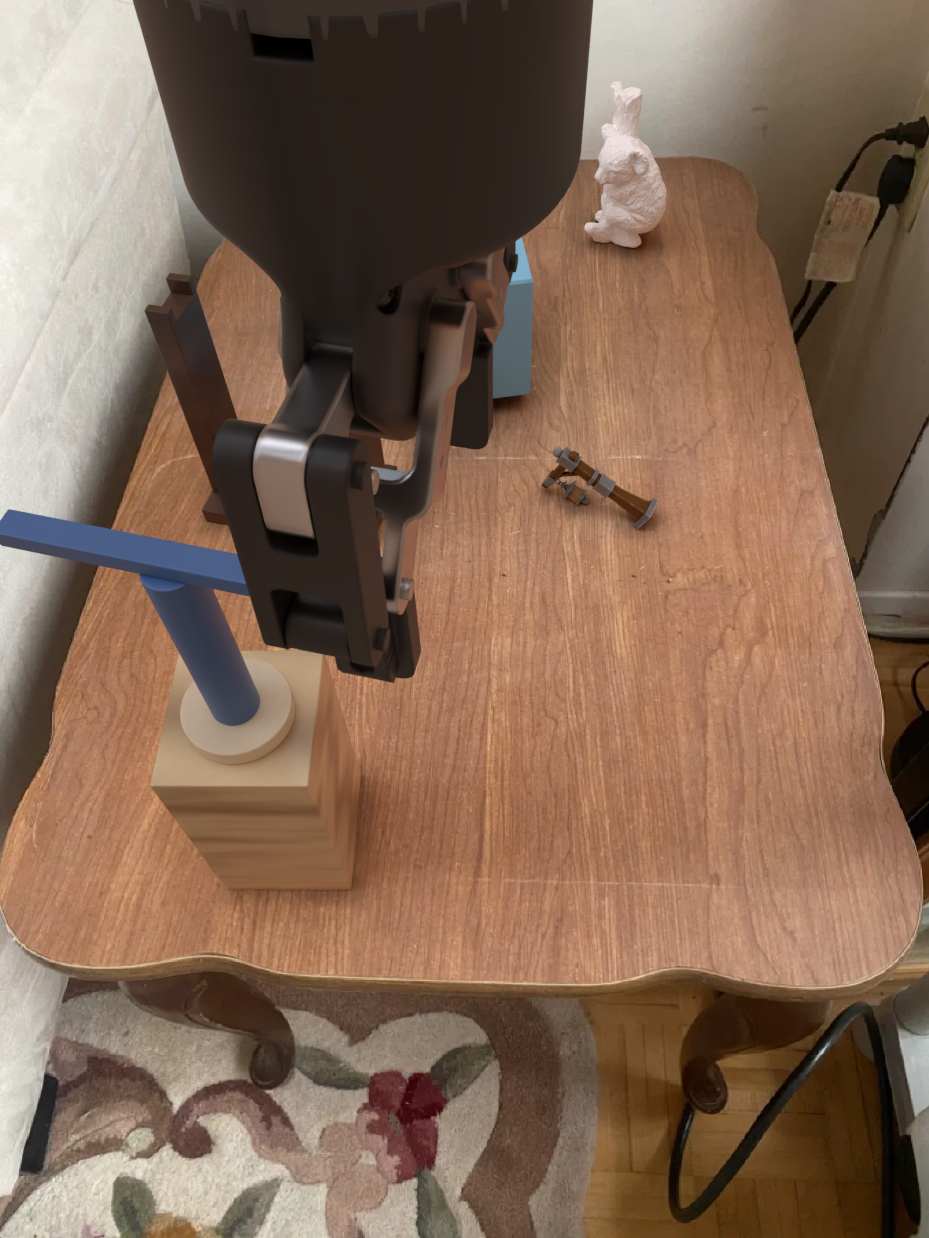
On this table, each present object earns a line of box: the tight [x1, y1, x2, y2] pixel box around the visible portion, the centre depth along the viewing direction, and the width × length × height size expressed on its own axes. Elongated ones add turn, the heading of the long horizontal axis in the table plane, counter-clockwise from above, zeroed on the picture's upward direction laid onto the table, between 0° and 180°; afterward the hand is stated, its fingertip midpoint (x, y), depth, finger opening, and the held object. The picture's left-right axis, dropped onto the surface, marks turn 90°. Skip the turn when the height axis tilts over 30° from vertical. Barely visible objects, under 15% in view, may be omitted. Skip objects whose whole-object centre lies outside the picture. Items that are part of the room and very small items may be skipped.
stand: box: [144, 272, 399, 531], centre depth 62 cm, size 7×12×17 cm, turn 76°
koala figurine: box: [583, 80, 668, 249], centre depth 80 cm, size 8×7×12 cm
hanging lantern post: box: [540, 446, 659, 530], centre depth 67 cm, size 2×8×4 cm, turn 65°
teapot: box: [493, 237, 534, 399], centre depth 72 cm, size 22×11×14 cm, turn 7°
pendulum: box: [0, 508, 295, 765], centre depth 38 cm, size 5×13×12 cm, turn 75°
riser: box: [149, 649, 362, 891], centre depth 49 cm, size 7×7×14 cm
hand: (421, 542), depth 28 cm, fingers open, 8 cm apart
